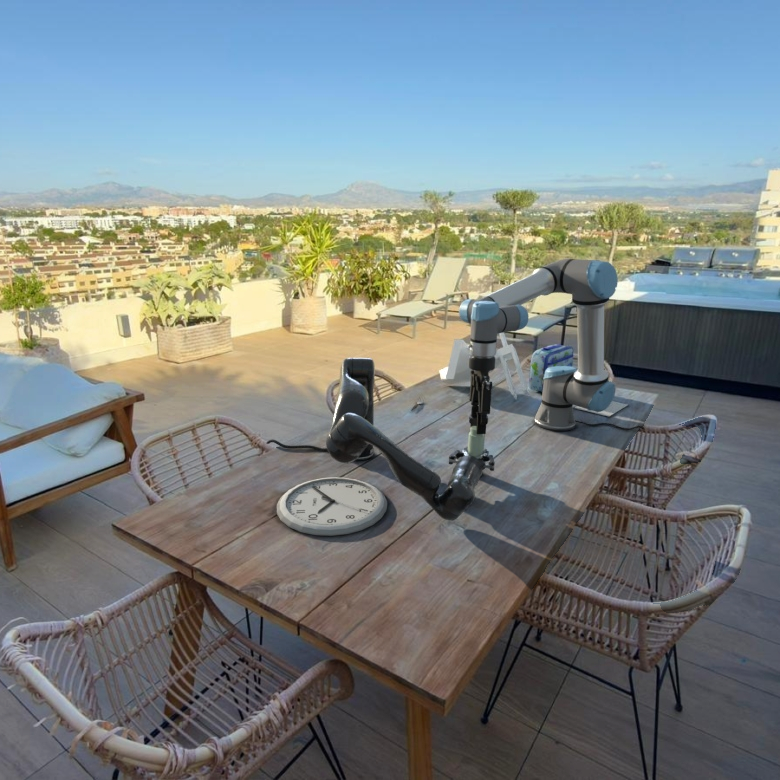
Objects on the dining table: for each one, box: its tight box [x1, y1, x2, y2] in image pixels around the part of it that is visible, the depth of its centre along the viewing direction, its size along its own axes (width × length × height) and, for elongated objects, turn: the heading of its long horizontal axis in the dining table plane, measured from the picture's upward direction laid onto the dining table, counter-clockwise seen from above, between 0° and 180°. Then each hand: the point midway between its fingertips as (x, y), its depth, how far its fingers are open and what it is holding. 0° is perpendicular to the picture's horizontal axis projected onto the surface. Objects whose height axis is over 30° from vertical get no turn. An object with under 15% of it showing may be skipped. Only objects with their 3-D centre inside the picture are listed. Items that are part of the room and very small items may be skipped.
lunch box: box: [528, 344, 574, 393], centre depth 247 cm, size 26×11×21 cm, turn 134°
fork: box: [410, 395, 425, 412], centre depth 222 cm, size 3×16×2 cm, turn 160°
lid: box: [468, 413, 489, 426], centre depth 158 cm, size 6×6×2 cm
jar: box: [467, 426, 486, 477], centre depth 160 cm, size 5×5×15 cm
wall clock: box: [276, 476, 388, 537], centre depth 142 cm, size 30×2×30 cm
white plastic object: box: [438, 332, 531, 400], centre depth 245 cm, size 37×45×31 cm
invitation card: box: [573, 400, 629, 418], centre depth 226 cm, size 21×1×15 cm
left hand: (476, 450), depth 163 cm, fingers closed on jar, 5 cm apart
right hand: (477, 429), depth 159 cm, fingers closed on lid, 5 cm apart
